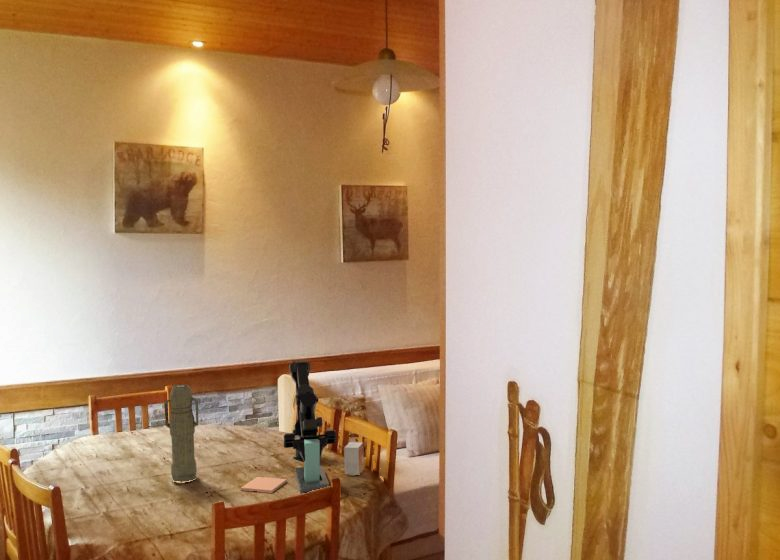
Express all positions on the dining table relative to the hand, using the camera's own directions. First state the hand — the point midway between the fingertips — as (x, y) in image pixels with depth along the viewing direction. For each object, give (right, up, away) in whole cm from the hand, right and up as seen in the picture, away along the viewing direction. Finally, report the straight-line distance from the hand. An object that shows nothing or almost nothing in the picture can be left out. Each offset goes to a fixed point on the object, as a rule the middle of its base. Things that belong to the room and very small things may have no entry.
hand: (312, 459), depth 248 cm
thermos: (-49, -11, +12) cm, 51 cm away
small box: (+14, -9, +15) cm, 23 cm away
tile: (-17, -10, +2) cm, 20 cm away
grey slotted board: (-1, -9, +5) cm, 11 cm away
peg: (0, -8, +2) cm, 8 cm away
